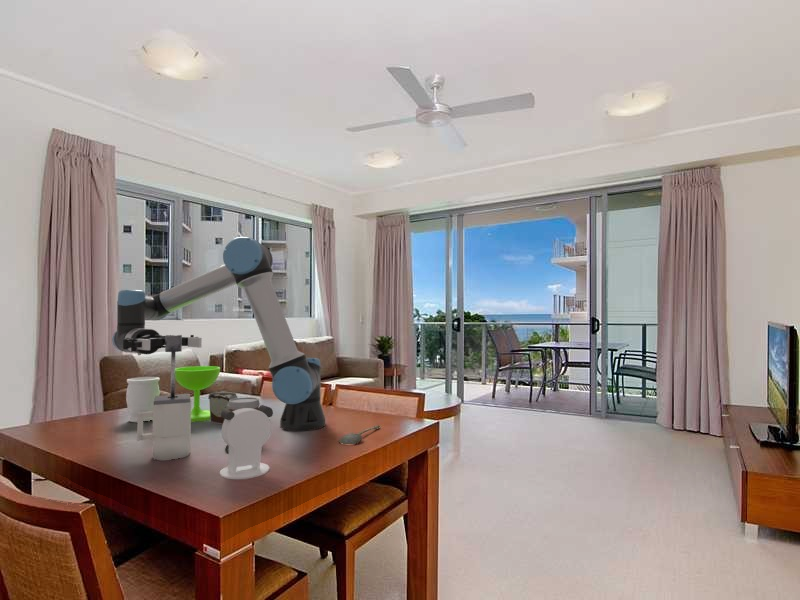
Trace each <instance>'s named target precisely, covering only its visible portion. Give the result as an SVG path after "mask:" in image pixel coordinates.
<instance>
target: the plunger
mask: <svg viewBox="0 0 800 600" xmlns="http://www.w3.org/2000/svg"><path fill="white" fill-rule="evenodd" d="M164 336H165V345H164V346H165V348H164V352H166V353H171V354H170V355H171V356H170V363H171V364H170V395H171V398H175V395H176V394H175V393H176V389H175V388H176V378H175V369H176V353H178V352H182V351H183V350H182V349H183V348H182V347H183V346H182V337H183V335H182V334H166V335H164Z"/></svg>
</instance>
